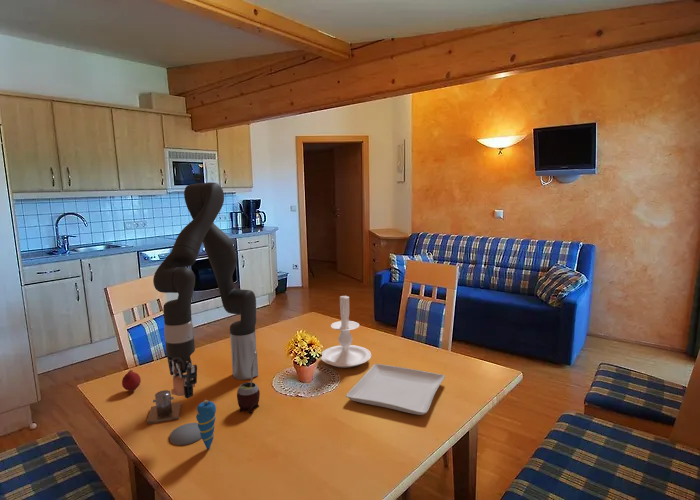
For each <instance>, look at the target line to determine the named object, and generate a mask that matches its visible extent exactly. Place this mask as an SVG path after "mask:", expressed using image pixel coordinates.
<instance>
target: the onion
mask: <svg viewBox="0 0 700 500" xmlns="http://www.w3.org/2000/svg"><path fill="white" fill-rule="evenodd" d="M141 380H142V379H141V376H140V375H139V374H138V373H137V372H134V371H133V369H129V370H128V372H127V373H126V374H125V375H124V376H123V377H122V380H121V385H122V387H123V389H124V390H126V391H128V392H134V391H135V390H136V389H137V388H139V386H140V385H141Z"/></svg>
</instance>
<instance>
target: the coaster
mask: <svg viewBox="0 0 700 500" xmlns="http://www.w3.org/2000/svg"><path fill="white" fill-rule="evenodd" d="M200 440H202V438H201V435H200V429H199V428H198V422H189V423H185V424H182V425H180V426H178V427H176V428H175V429H173V430H172V431H171V432H170V434H169V442H170V443H172V444H173V445H176V446H186V445H190V444H194V443H196V442H199V441H200Z"/></svg>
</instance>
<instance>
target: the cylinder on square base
mask: <svg viewBox="0 0 700 500" xmlns="http://www.w3.org/2000/svg"><path fill="white" fill-rule="evenodd" d="M171 395H172V394H171V391H170V390H167V389H166V390H160V391H158V392H157V393H155V395H154V398H155V399H152V403H153V404H154V403H155V405H154V406H153V405H152V406H151V407H150V409H149V413H148V416H147V419H146V425H153V424H158V423H164V422H169V421H177V420H179V419H180V414H181V408H182V401H178V402H172V400H174V398H175V397H174V396H171Z"/></svg>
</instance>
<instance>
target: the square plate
mask: <svg viewBox="0 0 700 500" xmlns="http://www.w3.org/2000/svg"><path fill="white" fill-rule="evenodd" d="M445 376H446V375H444V374H441V373H435V372H429V371H425V370H419V369H415V368H407V367H401V366H396V365H395V366H394V365H388V364H380V363H374V364H373V365H372V366H371V367H370V368H369V369H368V371H367V372H366V373H365V374H363V376H362V377H361V378H360V379H358V381H357V382H356V384H354V386H352V387H351V389H350V390H349V391H348V392H347V393H346V395H345V398H348V399H349V400H351V401H354V402H358V403H362V404H367V405H371V406H378V407H382V408H387V409H392V410H395V411H399V412H404V413H408V414H413V415H418V416H419V415H420V416H423V415H426V414H427V413H428V412H429V409H430V407H431V404H432V402H433V399H434V397H435V395H436V393H437V390H438V389H439V387H440V386H441V384H442V383H443V381H444V380H445V378H446V377H445Z"/></svg>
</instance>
